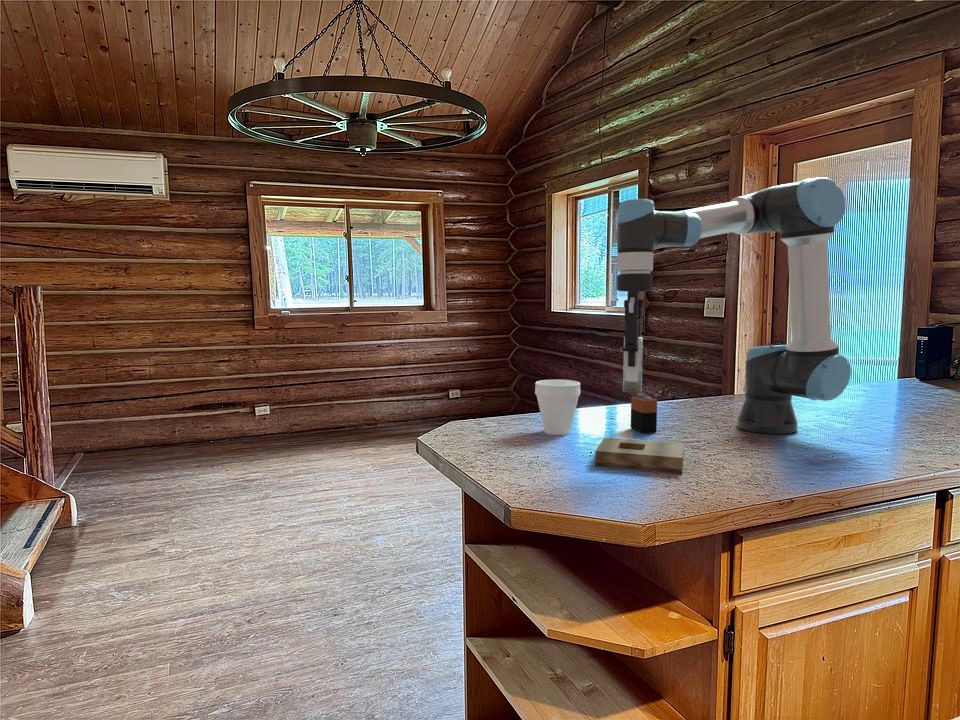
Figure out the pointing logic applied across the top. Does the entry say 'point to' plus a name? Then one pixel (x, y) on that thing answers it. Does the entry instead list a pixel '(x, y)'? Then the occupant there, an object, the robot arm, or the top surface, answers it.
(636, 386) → the pin
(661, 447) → the bore block
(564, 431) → the cup
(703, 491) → the top surface
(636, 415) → the battery
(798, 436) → the top surface
